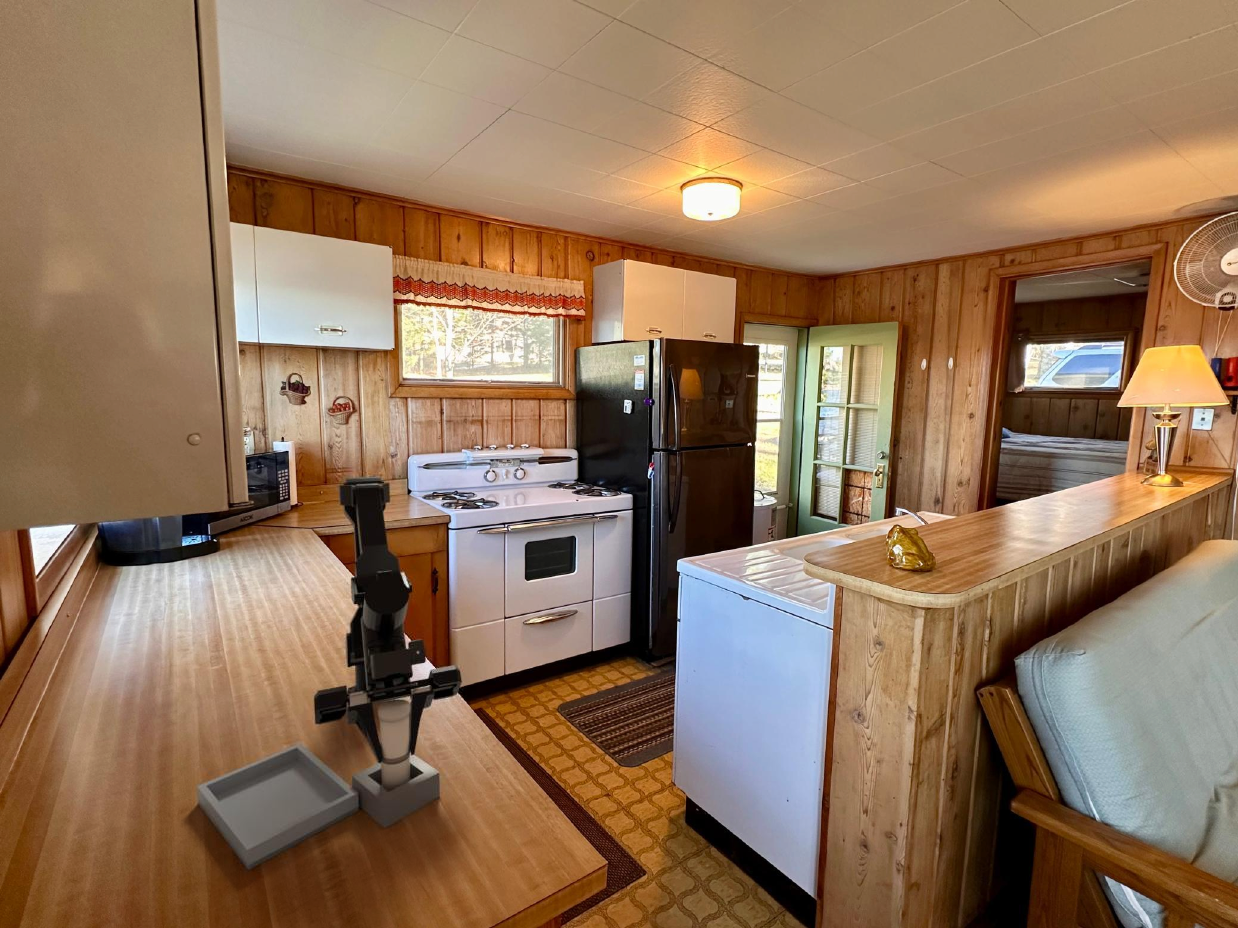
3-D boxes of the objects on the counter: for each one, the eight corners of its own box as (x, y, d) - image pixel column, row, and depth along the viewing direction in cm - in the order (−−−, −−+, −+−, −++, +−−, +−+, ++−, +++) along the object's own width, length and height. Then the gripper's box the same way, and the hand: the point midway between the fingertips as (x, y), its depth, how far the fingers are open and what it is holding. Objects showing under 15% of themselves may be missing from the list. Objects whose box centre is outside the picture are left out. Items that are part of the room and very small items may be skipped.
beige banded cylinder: (374, 799, 81) (371, 707, 80) (402, 784, 84) (399, 696, 83) (390, 812, 79) (388, 718, 77) (418, 797, 82) (416, 706, 80)
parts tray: (198, 803, 80) (196, 785, 79) (300, 758, 90) (300, 742, 89) (248, 869, 69) (247, 849, 69) (358, 810, 79) (358, 792, 79)
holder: (352, 800, 81) (352, 775, 81) (407, 771, 87) (406, 749, 87) (384, 828, 76) (383, 802, 76) (439, 796, 82) (439, 772, 82)
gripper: (311, 632, 78) (316, 759, 70) (458, 611, 86) (478, 722, 78) (313, 665, 86) (317, 783, 77) (447, 643, 94) (464, 747, 86)
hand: (396, 758), depth 80 cm, fingers closed on beige banded cylinder, 4 cm apart
